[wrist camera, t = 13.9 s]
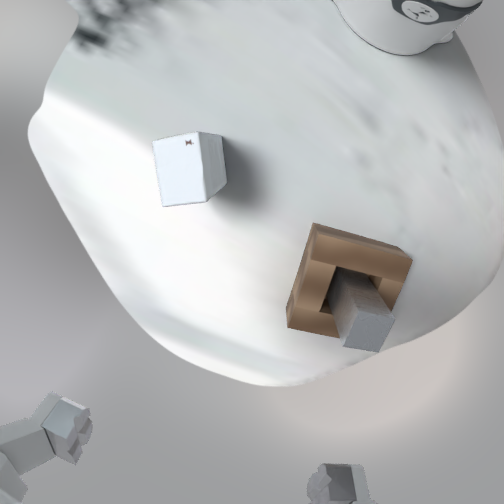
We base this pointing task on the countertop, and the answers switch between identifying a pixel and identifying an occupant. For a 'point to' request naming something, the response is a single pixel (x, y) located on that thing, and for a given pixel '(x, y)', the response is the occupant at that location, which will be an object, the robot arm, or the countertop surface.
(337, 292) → the metal peg
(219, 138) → the skincare box
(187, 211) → the countertop surface
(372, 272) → the walnut socket block
